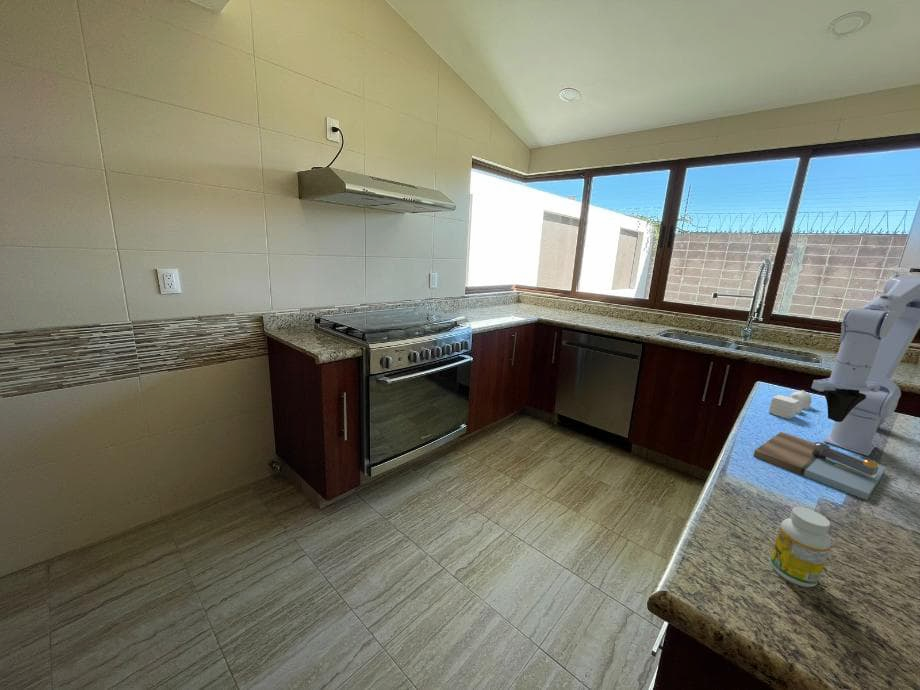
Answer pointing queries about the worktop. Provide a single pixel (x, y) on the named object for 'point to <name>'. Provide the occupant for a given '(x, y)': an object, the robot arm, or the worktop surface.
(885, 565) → the worktop surface
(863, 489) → the door leaf
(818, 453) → the lock bar
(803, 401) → the container set
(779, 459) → the jamb board
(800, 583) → the supplement bottle
